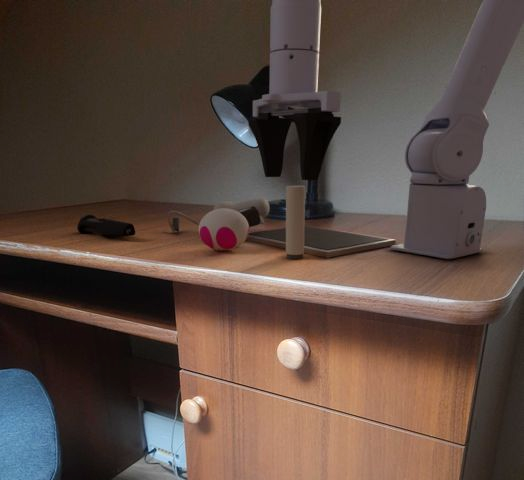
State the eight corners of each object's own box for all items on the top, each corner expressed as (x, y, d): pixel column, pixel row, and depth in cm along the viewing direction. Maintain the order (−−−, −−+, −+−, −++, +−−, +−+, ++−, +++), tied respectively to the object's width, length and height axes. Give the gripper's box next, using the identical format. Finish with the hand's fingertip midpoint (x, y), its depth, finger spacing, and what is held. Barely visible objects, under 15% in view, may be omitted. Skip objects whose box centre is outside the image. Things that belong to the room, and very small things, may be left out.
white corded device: (161, 255, 83) (262, 234, 77) (148, 218, 80) (251, 193, 75) (186, 237, 93) (276, 217, 87) (175, 203, 90) (267, 180, 85)
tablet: (395, 245, 73) (396, 238, 72) (327, 258, 65) (327, 251, 64) (304, 230, 87) (304, 224, 87) (239, 239, 79) (239, 233, 79)
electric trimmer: (121, 244, 78) (118, 223, 77) (76, 233, 88) (73, 214, 87) (141, 241, 80) (140, 221, 79) (95, 230, 90) (93, 212, 89)
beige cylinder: (307, 257, 65) (309, 186, 62) (294, 260, 64) (294, 187, 60) (295, 255, 67) (296, 185, 63) (282, 257, 65) (282, 186, 62)
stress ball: (197, 272, 72) (178, 239, 67) (218, 234, 76) (201, 199, 71) (243, 275, 69) (227, 240, 64) (262, 235, 73) (248, 198, 68)
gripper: (232, 59, 60) (233, 176, 66) (307, 39, 49) (302, 182, 54) (278, 64, 64) (276, 175, 69) (358, 47, 53) (348, 180, 58)
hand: (290, 178), depth 62 cm, fingers open, 7 cm apart
